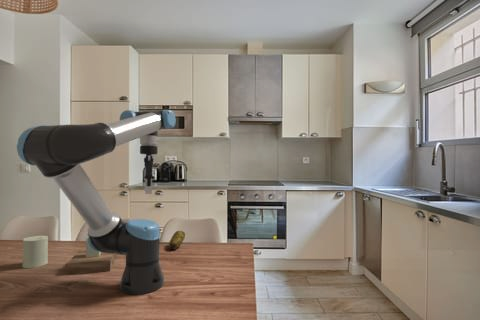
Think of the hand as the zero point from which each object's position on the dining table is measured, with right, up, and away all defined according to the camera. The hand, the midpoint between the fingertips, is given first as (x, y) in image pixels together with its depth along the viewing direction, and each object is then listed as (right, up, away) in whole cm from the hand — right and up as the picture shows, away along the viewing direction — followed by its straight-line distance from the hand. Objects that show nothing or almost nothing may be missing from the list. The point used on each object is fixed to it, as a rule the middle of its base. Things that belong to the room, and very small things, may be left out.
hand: (148, 192), depth 128 cm
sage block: (-22, -27, -5) cm, 35 cm away
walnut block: (-22, -32, -5) cm, 39 cm away
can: (-48, -31, -4) cm, 58 cm away
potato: (+8, -32, +23) cm, 41 cm away
